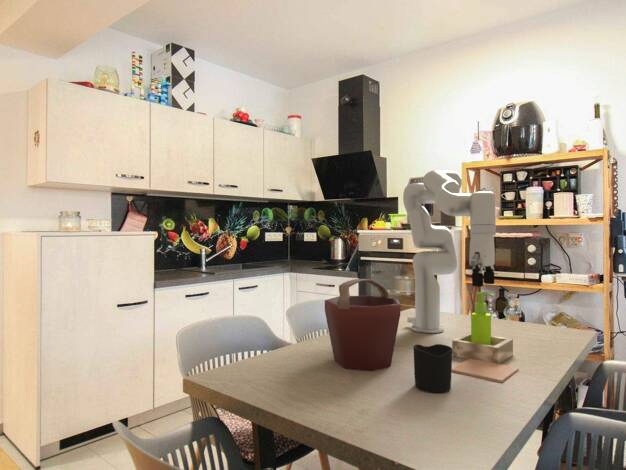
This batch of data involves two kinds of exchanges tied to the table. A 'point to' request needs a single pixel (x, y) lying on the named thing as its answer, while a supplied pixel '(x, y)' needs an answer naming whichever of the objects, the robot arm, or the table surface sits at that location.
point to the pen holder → (433, 368)
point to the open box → (483, 349)
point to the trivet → (485, 370)
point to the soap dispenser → (481, 321)
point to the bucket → (362, 327)
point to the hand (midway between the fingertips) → (483, 284)
